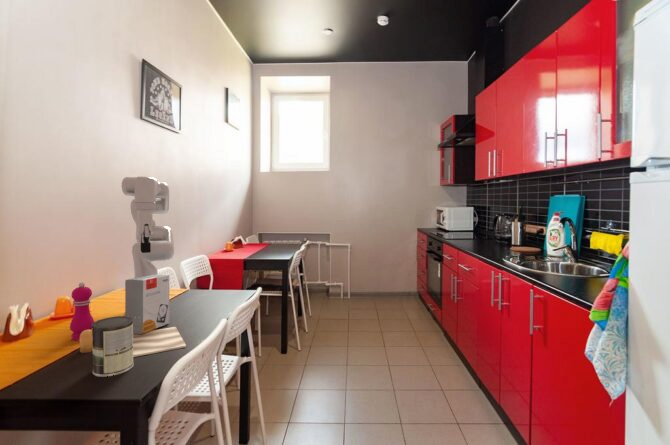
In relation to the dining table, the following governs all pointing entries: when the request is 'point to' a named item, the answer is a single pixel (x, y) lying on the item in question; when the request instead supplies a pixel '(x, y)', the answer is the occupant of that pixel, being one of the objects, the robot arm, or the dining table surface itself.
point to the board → (157, 341)
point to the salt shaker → (86, 341)
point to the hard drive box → (147, 302)
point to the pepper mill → (81, 311)
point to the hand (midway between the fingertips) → (145, 251)
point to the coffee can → (112, 345)
